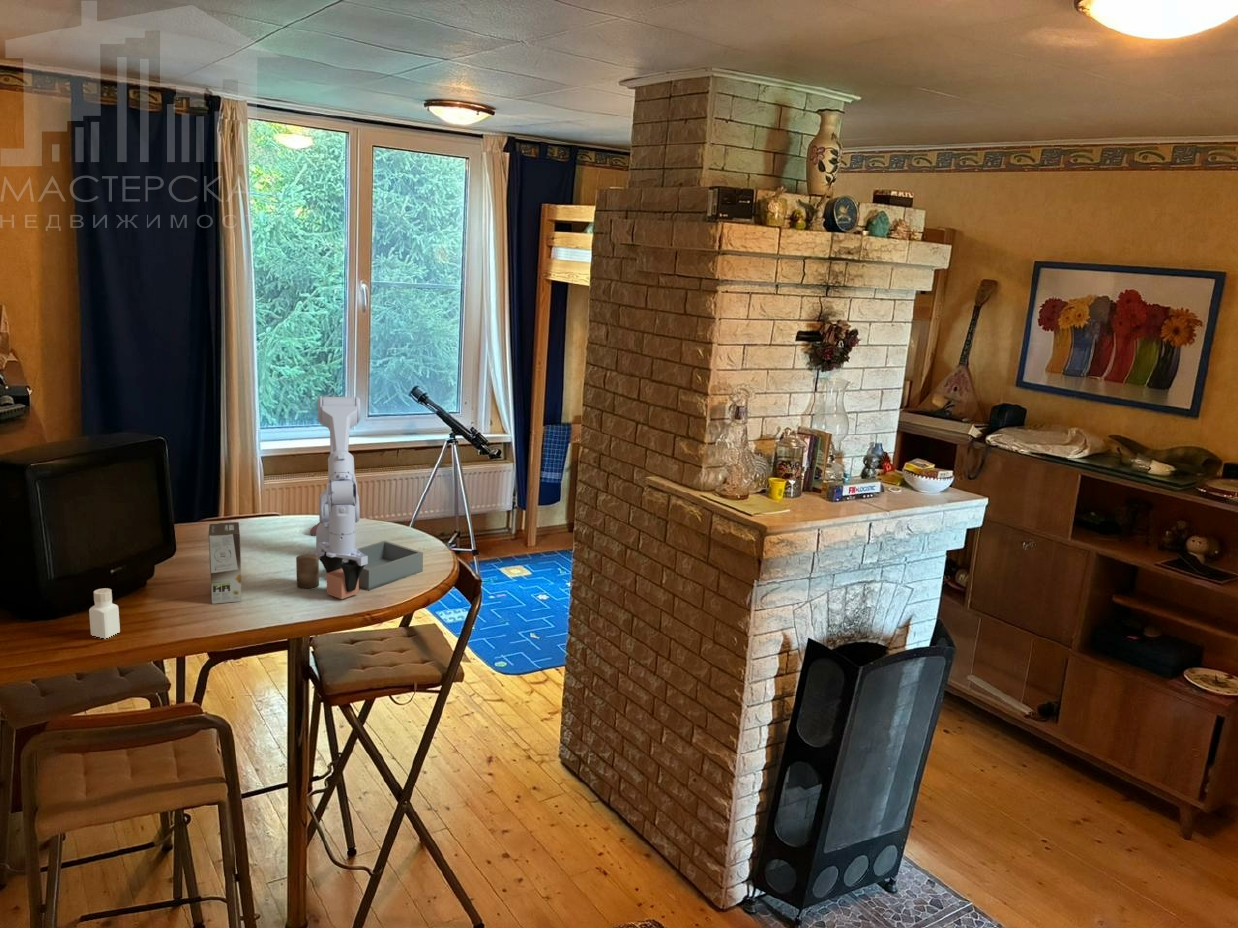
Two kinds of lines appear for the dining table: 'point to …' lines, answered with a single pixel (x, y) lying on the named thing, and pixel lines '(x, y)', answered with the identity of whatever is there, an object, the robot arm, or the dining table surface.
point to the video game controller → (314, 529)
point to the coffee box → (225, 562)
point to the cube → (339, 585)
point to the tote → (388, 564)
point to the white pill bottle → (104, 615)
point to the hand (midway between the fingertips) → (342, 587)
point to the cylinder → (307, 571)
